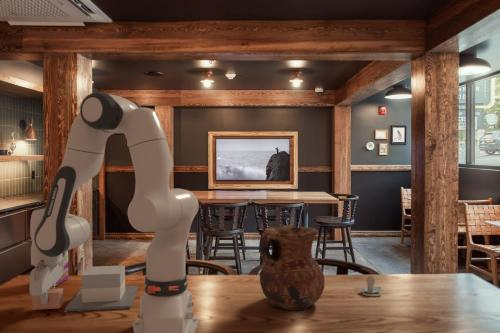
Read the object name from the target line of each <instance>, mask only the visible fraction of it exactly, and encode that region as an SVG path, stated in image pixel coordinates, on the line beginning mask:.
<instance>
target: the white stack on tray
mask: <svg viewBox="0 0 500 333" xmlns="http://www.w3.org/2000/svg"><path fill="white" fill-rule="evenodd" d="M139 287H140V286H139V285H126V265H125V264H124V265H106V266H105V265H102V266H100V265H99V266H88V268H87V269H86V270H85V271H84V272H83V274H82V275H81V288H80V289H79V291H78V292H77V293H76V294H75V295H74V296H73V298H72V299H71V300H70V301H69V303H68V304H67V306H65V308H64V312H65V311H79V312H85V311H84V310H98V311H102V310H101V309H116V310H126V309H125V308H131V309H132V307H131V306H133V305H134V302H133V301H135V299H136V295H137V294H136V293H138V291H137V290H139V289H138V288H139ZM134 298H135V299H134Z"/></svg>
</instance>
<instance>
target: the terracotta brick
mask: <svg viewBox="0 0 500 333" xmlns="http://www.w3.org/2000/svg"><path fill="white" fill-rule="evenodd" d="M47 296H48V297H49V302H48V303H47V304H41V298H40V296H31V304H32V305H31V308H32V311H34V310H35V311H36V310H48V309H49V310H51V309H61V307H62V306H63V305H64V288H63V287H62V288H60V287H59V288H57V287H56V288H55V289H49V290H48V293H47Z"/></svg>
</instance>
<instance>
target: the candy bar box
mask: <svg viewBox="0 0 500 333" xmlns="http://www.w3.org/2000/svg"><path fill="white" fill-rule="evenodd" d="M63 258H64V269H63V275H62V277H61V278H60V279H59V280H58V281H57V282H56V285H57V284H59V283H60V282H62V281H64V280H65V279H67V278H68V277H69V278H70V266H69V260H70V259H69V250H67V251H65V256H64V257H63ZM67 280H68V279H67ZM64 282H65V281H64Z"/></svg>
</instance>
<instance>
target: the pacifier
mask: <svg viewBox="0 0 500 333" xmlns="http://www.w3.org/2000/svg"><path fill="white" fill-rule="evenodd" d="M365 279H366V280H365V282H366V284H367V285H366V286H367V287H363V286H359V288H360V289H361V290H362V291H364V292H362V295H364V296H366V297H372V298H373V297H380V296H381V295H382V293H381V292H380V291H381V290H382V287H381V286H375V285H374V284H375V283H376V279H375V277H374V276H372V275H369V276H366V278H365ZM374 286H375V287H374Z"/></svg>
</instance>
